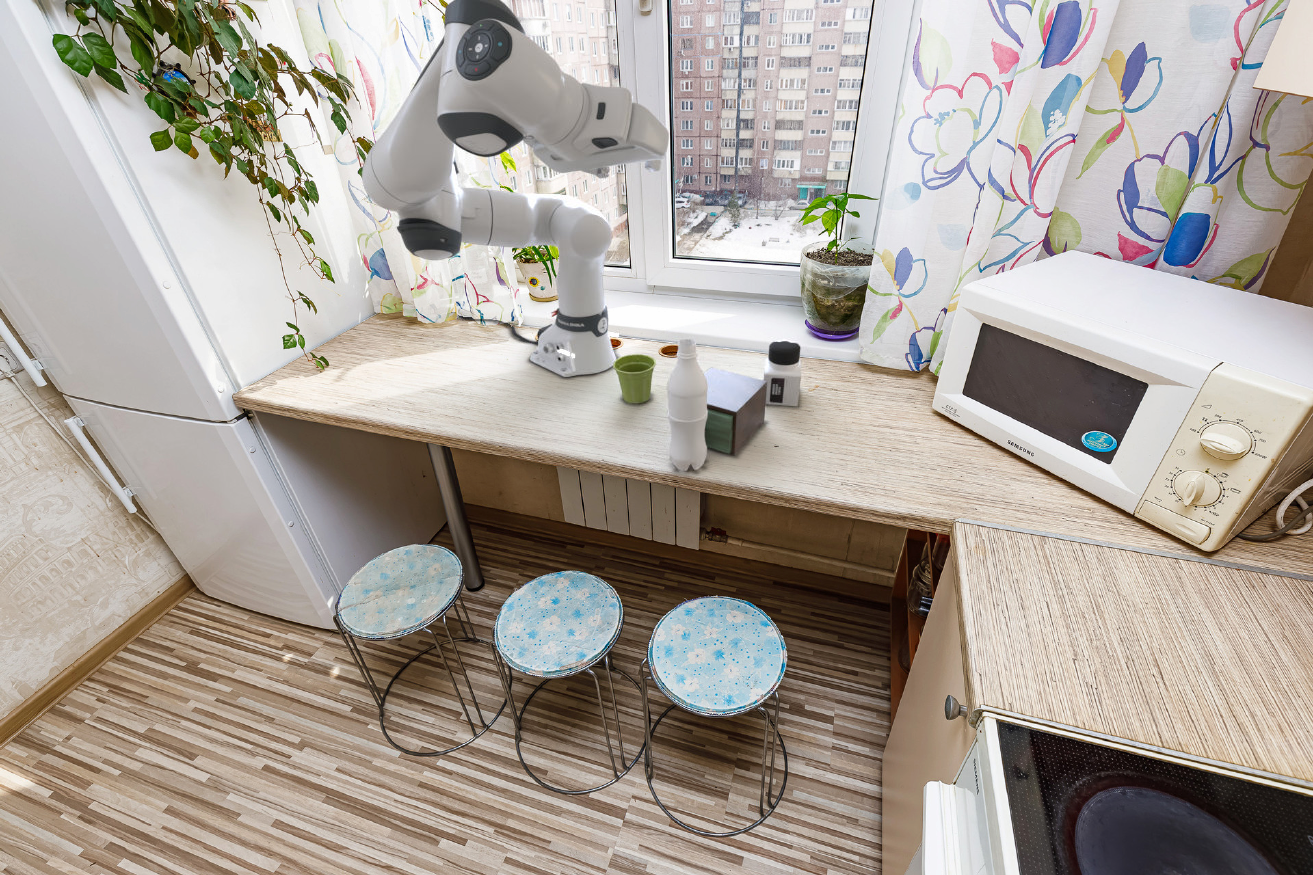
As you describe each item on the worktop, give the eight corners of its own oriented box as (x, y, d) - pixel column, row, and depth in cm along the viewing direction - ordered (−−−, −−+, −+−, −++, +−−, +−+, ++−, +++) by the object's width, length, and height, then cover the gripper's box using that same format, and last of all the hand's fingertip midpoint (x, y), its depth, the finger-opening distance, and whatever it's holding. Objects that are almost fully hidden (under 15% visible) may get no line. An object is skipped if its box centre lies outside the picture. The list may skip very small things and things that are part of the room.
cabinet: (734, 455, 116) (736, 412, 111) (677, 437, 122) (677, 395, 117) (764, 422, 126) (767, 381, 120) (710, 407, 132) (711, 367, 126)
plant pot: (607, 399, 136) (604, 364, 131) (636, 383, 142) (634, 350, 137) (636, 412, 131) (634, 377, 126) (665, 396, 136) (664, 361, 132)
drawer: (726, 457, 114) (727, 421, 110) (674, 440, 120) (673, 405, 115) (757, 423, 124) (759, 389, 119) (707, 409, 129) (707, 376, 125)
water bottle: (687, 448, 119) (686, 330, 105) (714, 462, 114) (717, 341, 100) (661, 464, 115) (656, 343, 101) (688, 479, 110) (687, 355, 96)
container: (797, 407, 130) (803, 352, 123) (761, 404, 132) (765, 350, 125) (797, 390, 137) (803, 337, 130) (763, 387, 138) (767, 335, 131)
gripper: (512, 156, 85) (574, 196, 97) (629, 135, 74) (684, 184, 86) (518, 111, 85) (580, 158, 97) (637, 85, 74) (690, 140, 86)
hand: (630, 170), depth 91 cm, fingers open, 8 cm apart
